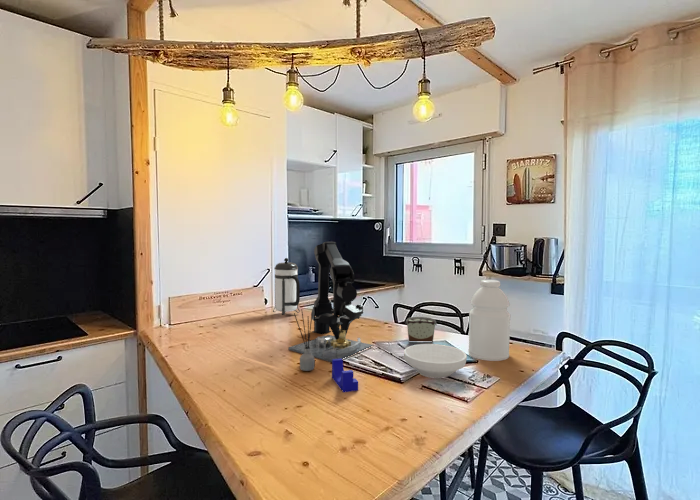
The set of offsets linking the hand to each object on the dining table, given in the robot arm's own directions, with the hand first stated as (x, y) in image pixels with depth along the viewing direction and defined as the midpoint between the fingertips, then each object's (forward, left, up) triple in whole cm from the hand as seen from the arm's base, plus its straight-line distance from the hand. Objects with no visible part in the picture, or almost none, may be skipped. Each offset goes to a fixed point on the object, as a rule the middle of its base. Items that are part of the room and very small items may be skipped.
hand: (340, 338), depth 148 cm
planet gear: (0, 0, -3) cm, 3 cm away
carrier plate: (-5, 0, -5) cm, 7 cm away
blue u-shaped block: (+21, -23, -5) cm, 32 cm away
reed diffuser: (+4, -23, -5) cm, 24 cm away
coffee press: (-66, +33, -5) cm, 74 cm away
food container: (+17, +30, -5) cm, 35 cm away
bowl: (+38, +1, -5) cm, 39 cm away
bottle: (+46, +29, -5) cm, 54 cm away
